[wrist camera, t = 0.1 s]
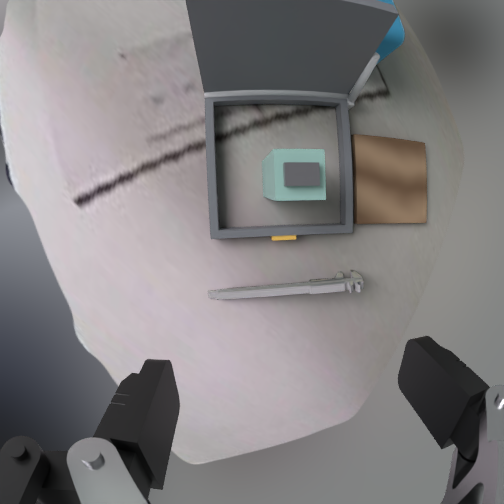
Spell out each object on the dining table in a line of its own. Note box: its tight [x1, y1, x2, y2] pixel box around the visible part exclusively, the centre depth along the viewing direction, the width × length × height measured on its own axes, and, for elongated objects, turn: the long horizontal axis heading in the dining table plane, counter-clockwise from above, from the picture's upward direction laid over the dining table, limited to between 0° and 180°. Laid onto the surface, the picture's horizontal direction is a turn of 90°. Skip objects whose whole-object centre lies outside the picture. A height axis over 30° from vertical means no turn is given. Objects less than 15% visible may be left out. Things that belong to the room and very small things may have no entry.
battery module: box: [262, 149, 326, 201], centre depth 29 cm, size 4×4×13 cm
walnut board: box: [351, 134, 427, 224], centre depth 36 cm, size 12×12×1 cm
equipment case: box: [186, 0, 399, 241], centre depth 26 cm, size 24×19×18 cm
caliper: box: [208, 270, 363, 300], centre depth 36 cm, size 20×1×6 cm, turn 98°
